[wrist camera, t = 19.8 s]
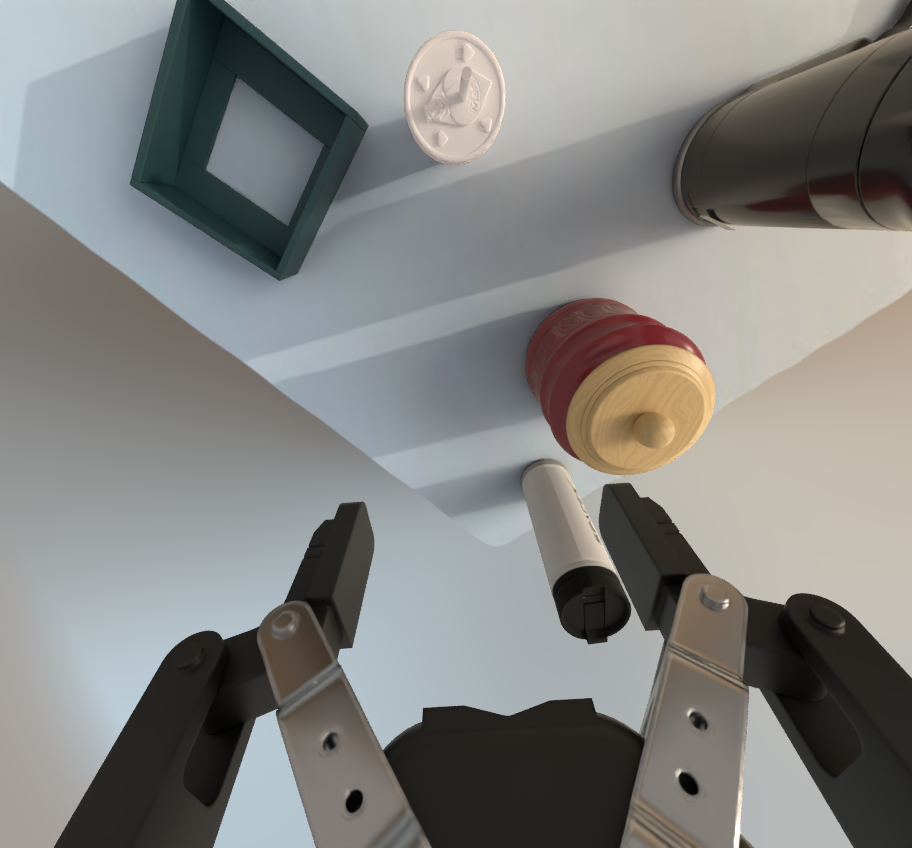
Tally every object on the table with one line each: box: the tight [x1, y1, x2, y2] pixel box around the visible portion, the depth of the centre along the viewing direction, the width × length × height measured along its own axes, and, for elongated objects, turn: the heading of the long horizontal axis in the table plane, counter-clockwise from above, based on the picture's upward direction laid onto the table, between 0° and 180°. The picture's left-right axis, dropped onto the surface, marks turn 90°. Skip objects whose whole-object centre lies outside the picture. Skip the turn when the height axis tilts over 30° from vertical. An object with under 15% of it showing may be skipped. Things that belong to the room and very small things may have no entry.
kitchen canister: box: [526, 298, 716, 475], centre depth 34 cm, size 13×13×18 cm
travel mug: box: [521, 459, 631, 644], centre depth 41 cm, size 6×7×20 cm
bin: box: [130, 0, 368, 281], centre depth 30 cm, size 14×12×4 cm
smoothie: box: [404, 30, 506, 165], centre depth 25 cm, size 6×6×14 cm
